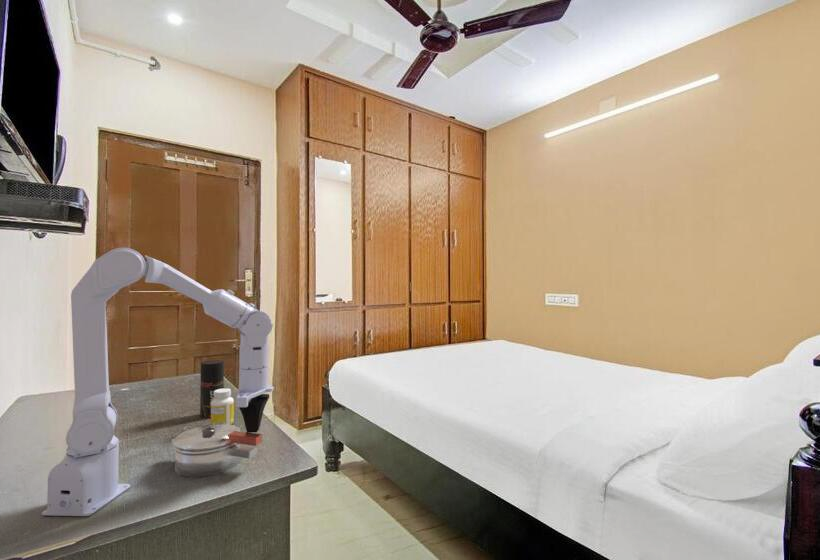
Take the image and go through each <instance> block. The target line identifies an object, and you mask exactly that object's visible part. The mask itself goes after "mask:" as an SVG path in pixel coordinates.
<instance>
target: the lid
mask: <svg viewBox="0 0 820 560" xmlns="http://www.w3.org/2000/svg"><path fill="white" fill-rule="evenodd" d="M174 438H175V440H174V445H175V447H176V448H177V449H180V450H184V451H205V450H211V449H216V448H220V447H223V446H226V445H229V444H231V443H237V444H242V445H249V446H255V447H258V445H259V444H261V443H262V442H263V434H262V433H257V432H247V431H242V430H241V428H240V427H239V426H237V425H235V424H234V425H228V424H215V425H211V424H207V425H203V426H197V427H194V428H191V429H188V430H185V431H182V432H181V433H179V434H178V435H177V436H176V437H174Z"/></svg>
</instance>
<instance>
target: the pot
mask: <svg viewBox="0 0 820 560" xmlns="http://www.w3.org/2000/svg"><path fill="white" fill-rule="evenodd" d="M175 438H176V437H173V439H171V447H173V450H174V452H175V454H174V455H175V456H174V457H175V460H174V461H175V462H174V463H175V464H174V468H175V469H174V472H175V473H176V475H178V476H180V477H184V478H193V479H194V478H205V477H206V478H207V477H211V476H215V475H219V474H222V473H225V472H227V471H228V470H230V469H233V468H234V467H235V466H236V465H237V464H238V463H239V462H240V458H244V459H251V458H252V457H254V456H255V455H257V454H258V446H252V445H245V444H237V443H231V444H229V445H226V446H223V447H220V448H216V449H211V450H205V451H184V450H180V449H177V448H176V447H175V445H174V440H175Z"/></svg>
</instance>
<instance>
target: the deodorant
mask: <svg viewBox="0 0 820 560" xmlns="http://www.w3.org/2000/svg"><path fill="white" fill-rule="evenodd" d="M224 372H225V361H224V360H222V359H210V360H209V359H208V360H204V361H202V362H200V386H199V387H200V393H199V395H200V397H199V398H200V400H199V403H200V404H199V407H200V408H199V417H200V418H202V419H211V401H212V400H213V399H215V397H214V391H215V390H218V389H224V387H225V386H224V385H225V383H224V381H225V378H224V377H225V375H224V374H225V373H224Z"/></svg>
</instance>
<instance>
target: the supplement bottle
mask: <svg viewBox="0 0 820 560" xmlns="http://www.w3.org/2000/svg"><path fill="white" fill-rule="evenodd" d="M231 395H232V389H231V388H224V389H218V390H215V391H214V397H215V399H213V400H212V401H211V418H210V425H215V424H228V425H234V426H235V424H234V423H235V419H234V417H235V411H234V410H235V409H234V408H235V405H234V404H235V400H234V398H233V397H232V396H231Z"/></svg>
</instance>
